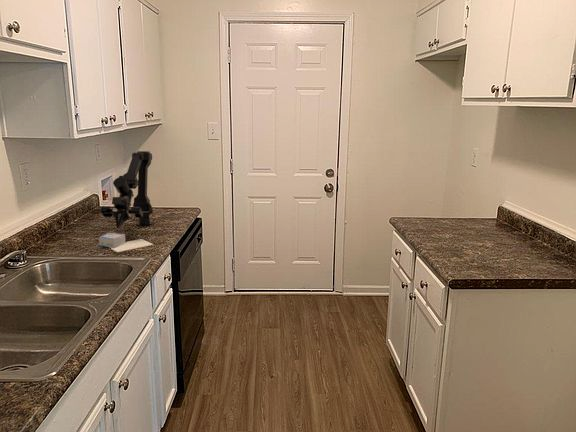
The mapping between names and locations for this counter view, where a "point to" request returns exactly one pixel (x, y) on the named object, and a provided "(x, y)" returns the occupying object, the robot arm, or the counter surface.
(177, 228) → the counter surface
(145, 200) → the robot arm
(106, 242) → the medicine box
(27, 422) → the counter surface
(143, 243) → the pale rubber mat
